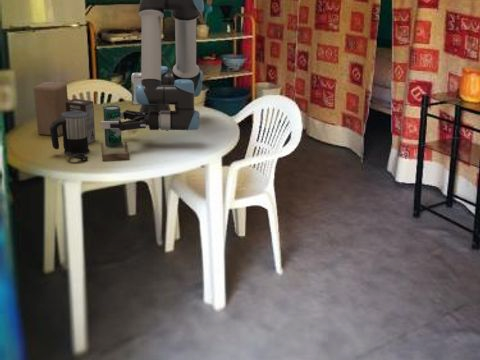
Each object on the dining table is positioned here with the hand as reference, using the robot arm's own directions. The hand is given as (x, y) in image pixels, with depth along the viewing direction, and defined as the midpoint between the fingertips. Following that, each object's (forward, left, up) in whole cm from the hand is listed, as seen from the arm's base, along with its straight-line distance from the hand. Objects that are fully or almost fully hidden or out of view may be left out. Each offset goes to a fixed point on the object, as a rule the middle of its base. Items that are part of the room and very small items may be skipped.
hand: (103, 119), depth 237 cm
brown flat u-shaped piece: (-3, +12, -10) cm, 16 cm away
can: (-3, +1, -10) cm, 11 cm away
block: (+20, -19, -10) cm, 30 cm away
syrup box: (-18, -62, -10) cm, 66 cm away
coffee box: (+9, -6, -10) cm, 15 cm away
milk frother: (+10, +11, -10) cm, 18 cm away
